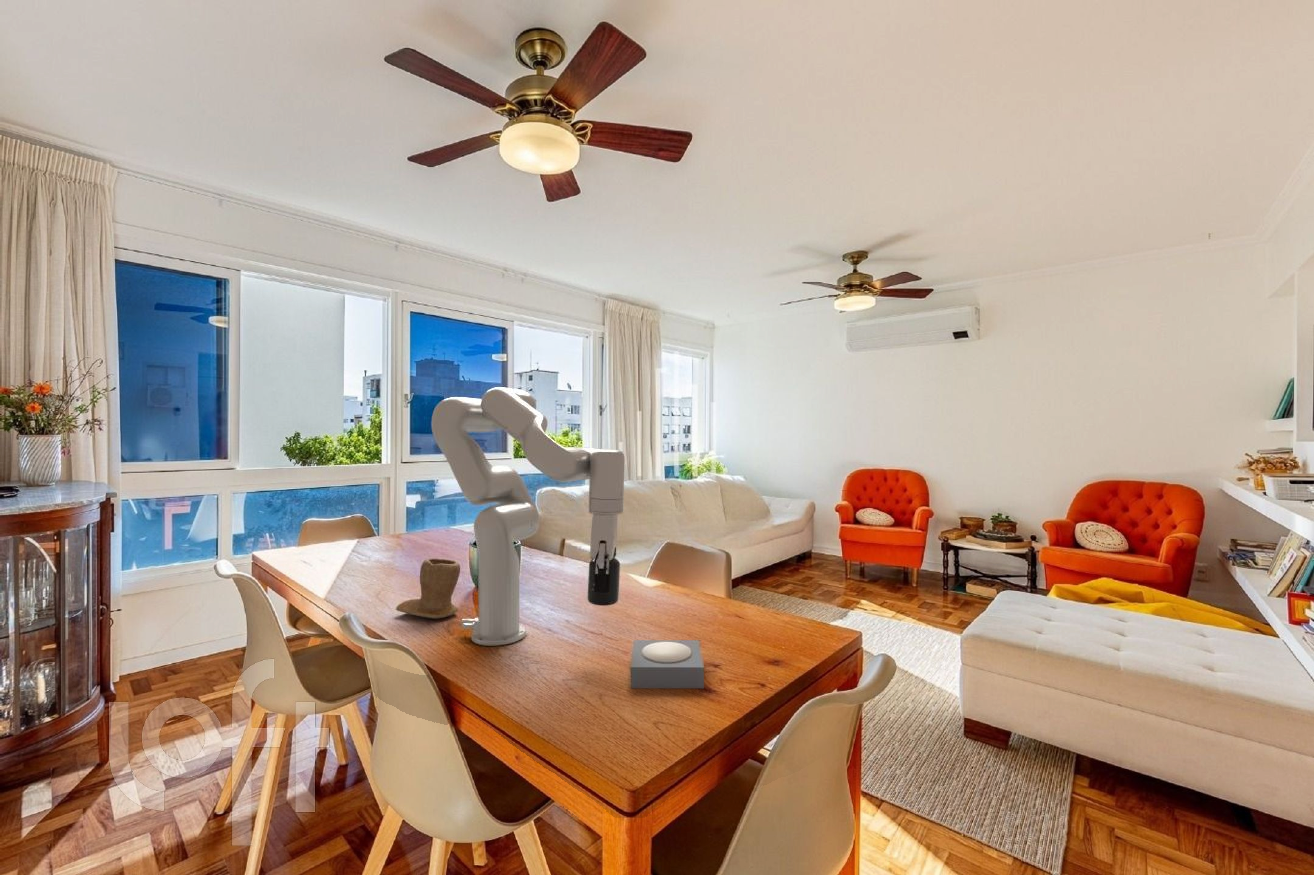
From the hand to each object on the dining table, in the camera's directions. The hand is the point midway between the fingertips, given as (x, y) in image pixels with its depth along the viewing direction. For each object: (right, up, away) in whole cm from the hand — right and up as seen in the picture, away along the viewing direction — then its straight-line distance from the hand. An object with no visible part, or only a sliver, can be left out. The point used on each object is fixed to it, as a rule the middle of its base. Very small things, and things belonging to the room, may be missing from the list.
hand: (603, 586), depth 119 cm
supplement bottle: (0, -4, 0) cm, 4 cm away
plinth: (+14, -15, -8) cm, 22 cm away
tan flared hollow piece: (-49, -16, +29) cm, 59 cm away
